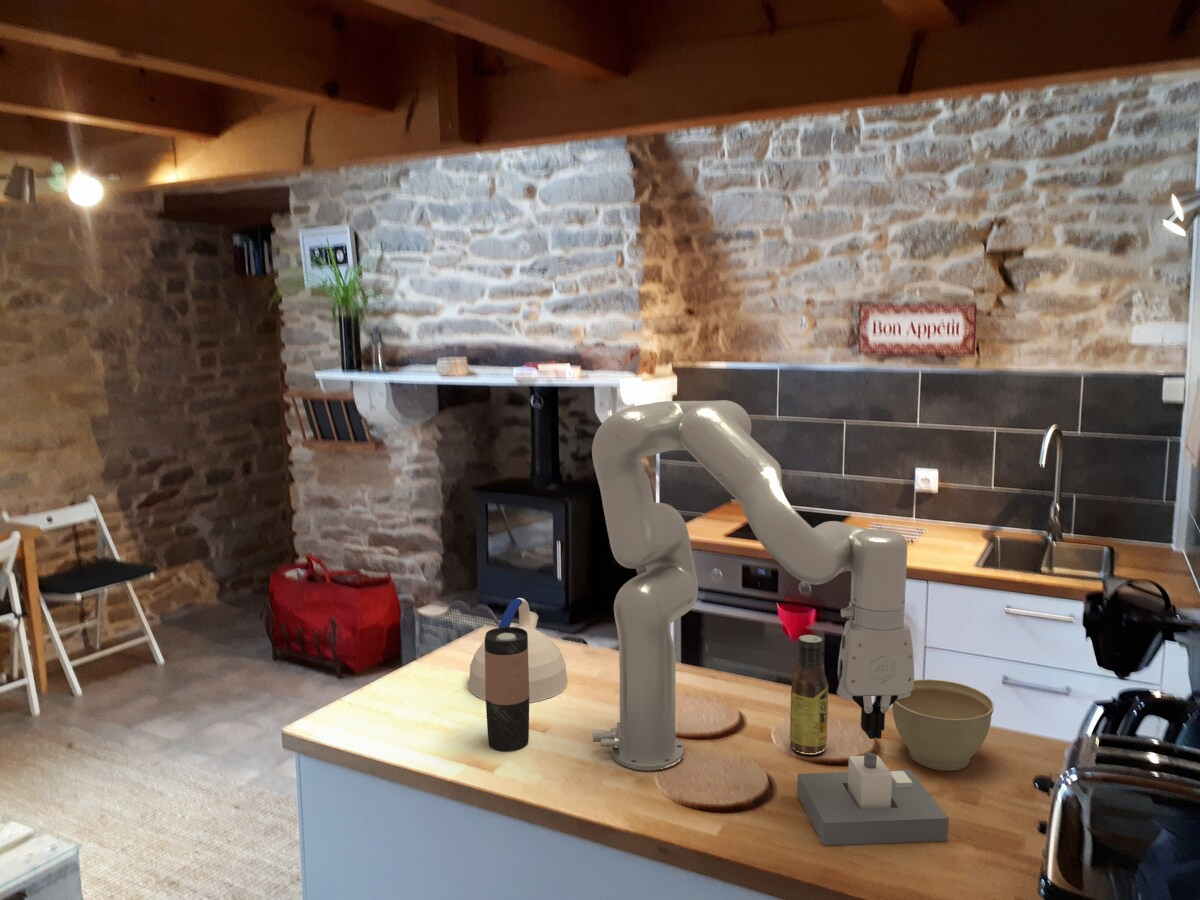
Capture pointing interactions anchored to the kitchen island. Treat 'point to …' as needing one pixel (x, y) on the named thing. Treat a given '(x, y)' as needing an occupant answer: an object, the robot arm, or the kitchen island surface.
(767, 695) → the kitchen island surface
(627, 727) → the robot arm
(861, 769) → the plug
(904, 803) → the socket
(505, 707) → the travel mug
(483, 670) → the kettle
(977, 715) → the planter bowl
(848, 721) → the kitchen island surface
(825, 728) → the sauce bottle
